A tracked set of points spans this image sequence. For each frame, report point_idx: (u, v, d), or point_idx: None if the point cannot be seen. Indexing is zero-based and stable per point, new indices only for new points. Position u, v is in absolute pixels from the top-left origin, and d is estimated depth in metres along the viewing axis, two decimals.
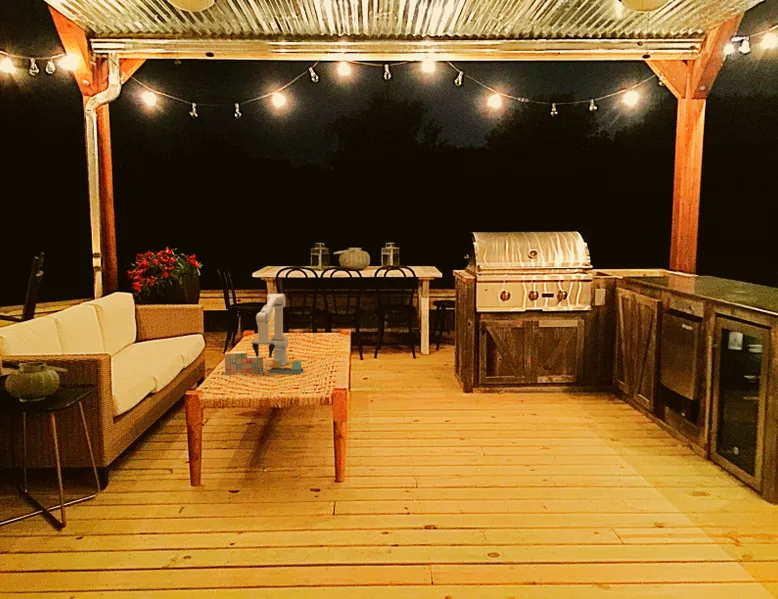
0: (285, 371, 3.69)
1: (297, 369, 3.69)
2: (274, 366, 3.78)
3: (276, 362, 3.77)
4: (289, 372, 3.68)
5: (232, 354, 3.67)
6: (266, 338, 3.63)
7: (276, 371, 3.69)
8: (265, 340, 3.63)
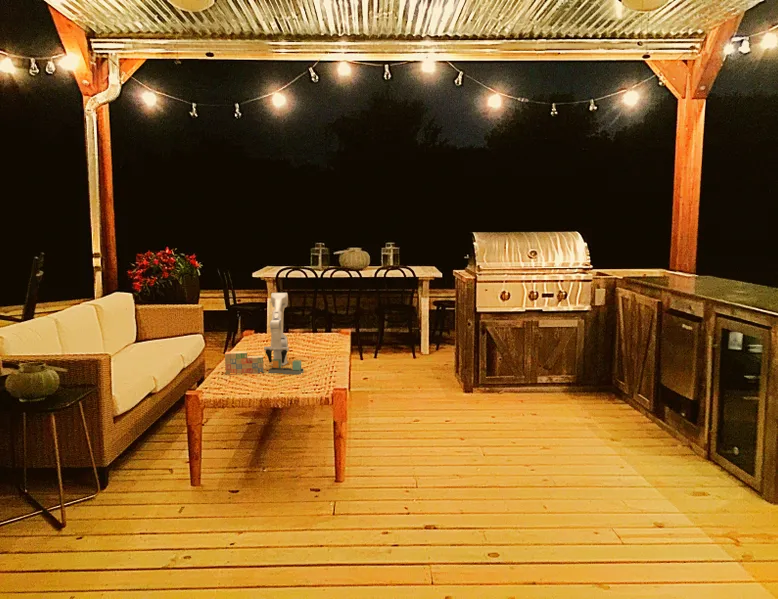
0: (285, 371, 3.69)
1: (297, 369, 3.69)
2: (274, 366, 3.78)
3: (276, 362, 3.77)
4: (289, 372, 3.68)
5: (232, 354, 3.67)
6: (279, 344, 3.77)
7: (276, 371, 3.69)
8: (278, 346, 3.76)
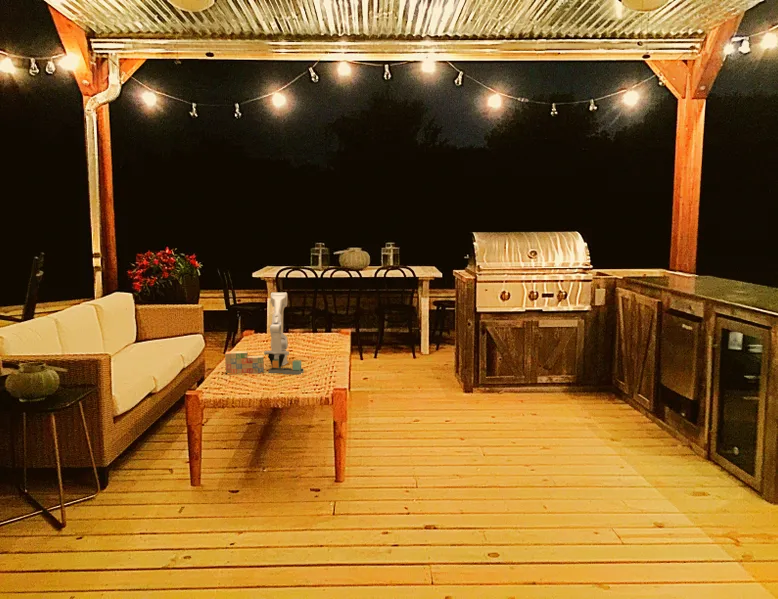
0: (285, 371, 3.69)
1: (297, 369, 3.69)
2: (274, 366, 3.78)
3: (276, 362, 3.77)
4: (289, 372, 3.68)
5: (232, 354, 3.67)
6: (279, 349, 3.77)
7: (276, 371, 3.69)
8: (278, 350, 3.77)
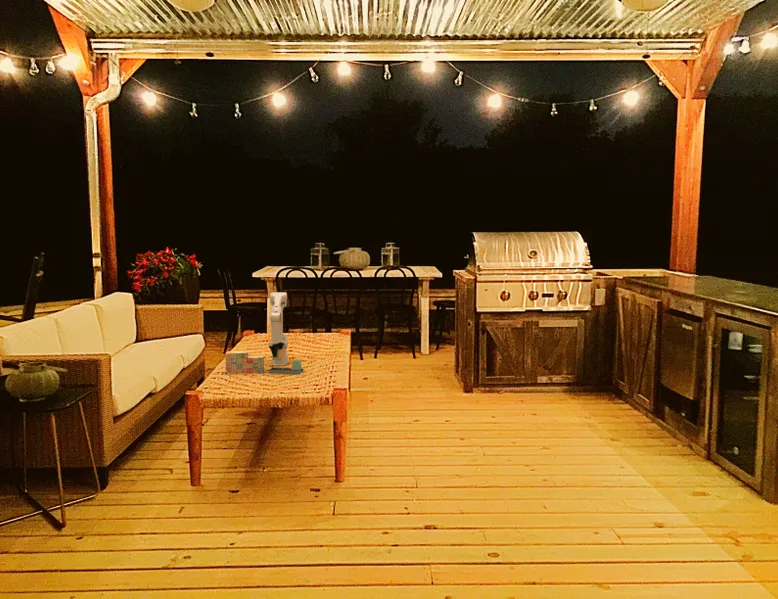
0: (285, 371, 3.69)
1: (297, 369, 3.69)
2: (280, 356, 3.72)
3: (281, 351, 3.73)
4: (289, 372, 3.68)
5: (233, 354, 3.68)
6: None
7: (276, 371, 3.69)
8: None
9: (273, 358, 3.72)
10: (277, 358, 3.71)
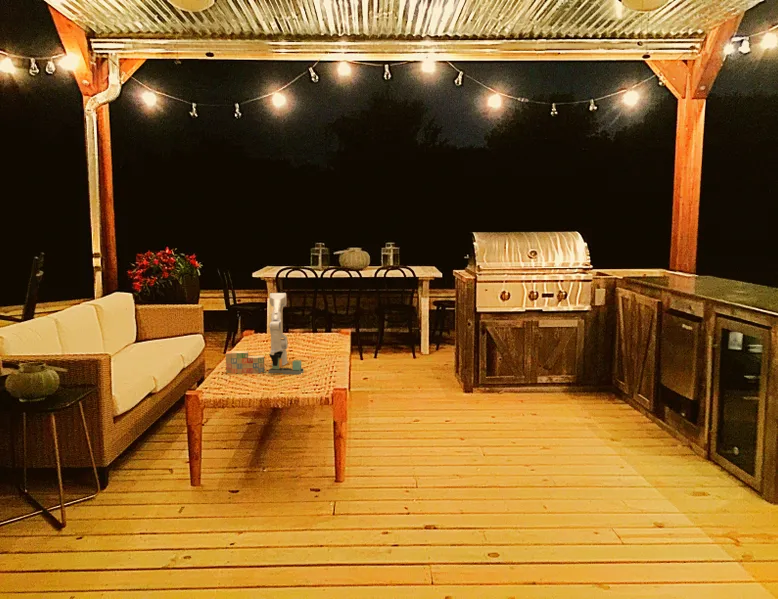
0: (285, 371, 3.69)
1: (297, 369, 3.69)
2: (280, 364, 3.71)
3: (281, 360, 3.72)
4: (289, 372, 3.68)
5: (233, 354, 3.68)
6: None
7: (276, 371, 3.69)
8: None
9: (273, 367, 3.71)
10: (278, 367, 3.70)
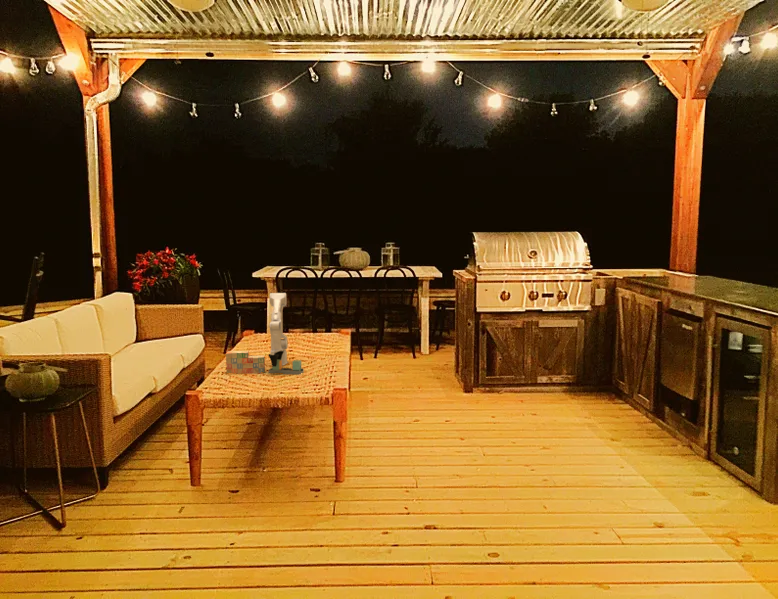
0: (285, 371, 3.69)
1: (297, 369, 3.69)
2: (280, 366, 3.71)
3: (281, 362, 3.72)
4: (289, 372, 3.68)
5: (233, 353, 3.68)
6: None
7: (276, 371, 3.69)
8: None
9: (273, 369, 3.71)
10: (278, 369, 3.70)
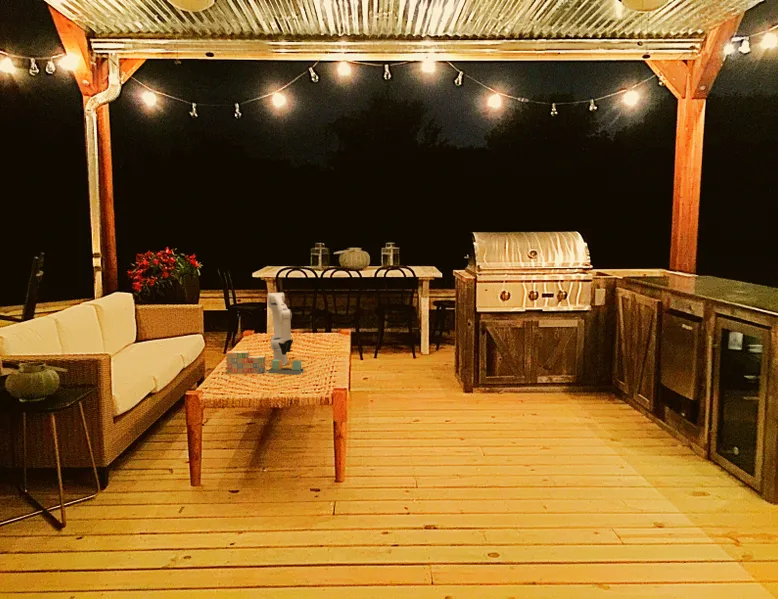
0: (285, 371, 3.69)
1: (297, 369, 3.69)
2: (280, 366, 3.71)
3: (281, 362, 3.72)
4: (289, 372, 3.68)
5: (233, 353, 3.69)
6: None
7: (276, 371, 3.69)
8: None
9: (273, 369, 3.71)
10: (278, 369, 3.70)
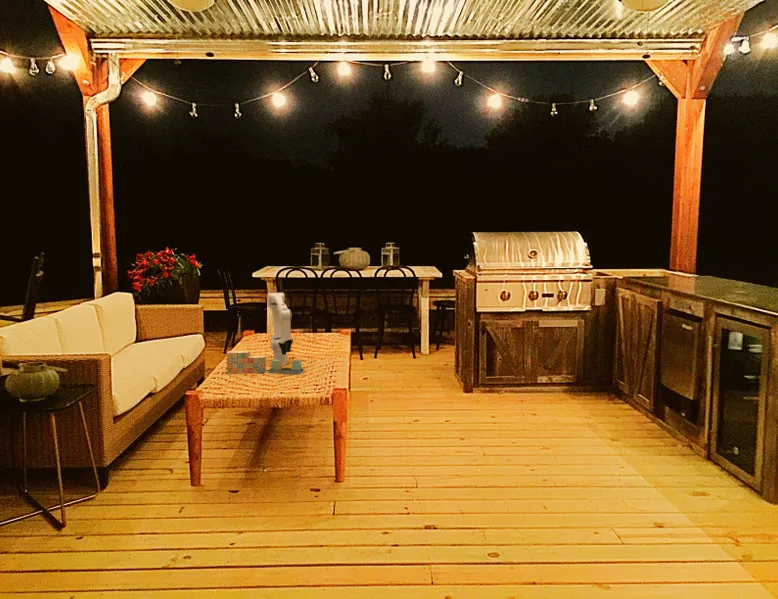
0: (285, 371, 3.69)
1: (297, 369, 3.69)
2: (280, 366, 3.71)
3: (281, 362, 3.72)
4: (289, 372, 3.68)
5: (234, 353, 3.69)
6: None
7: (276, 371, 3.69)
8: None
9: (273, 369, 3.71)
10: (278, 369, 3.70)
